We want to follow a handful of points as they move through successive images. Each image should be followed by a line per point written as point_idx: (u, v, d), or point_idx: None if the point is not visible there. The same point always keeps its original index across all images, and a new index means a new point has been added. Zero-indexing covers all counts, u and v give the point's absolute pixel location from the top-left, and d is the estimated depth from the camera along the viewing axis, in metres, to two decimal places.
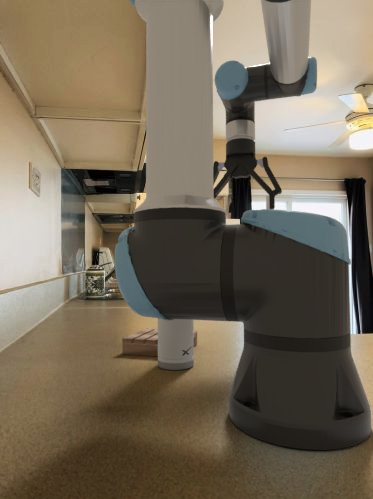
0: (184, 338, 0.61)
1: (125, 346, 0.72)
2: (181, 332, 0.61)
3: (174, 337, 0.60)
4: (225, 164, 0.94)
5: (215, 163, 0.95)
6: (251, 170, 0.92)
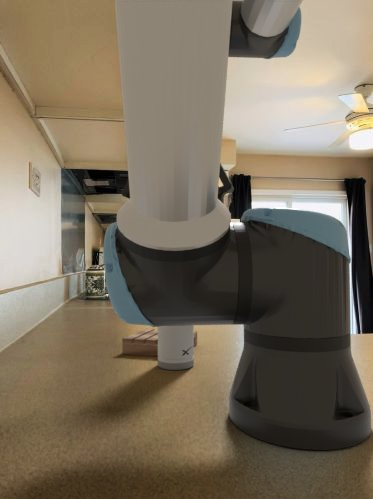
0: (184, 338, 0.61)
1: (125, 346, 0.72)
2: (181, 332, 0.61)
3: (174, 337, 0.60)
4: None
5: None
6: None
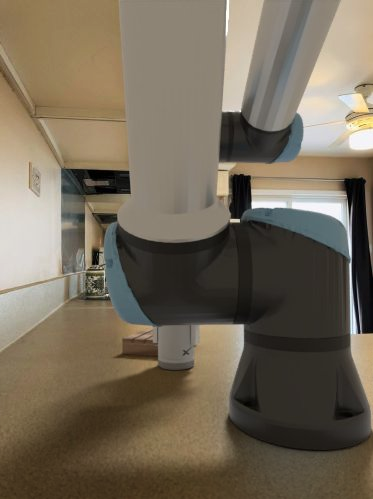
0: (184, 338, 0.61)
1: (125, 346, 0.72)
2: (182, 332, 0.61)
3: (175, 337, 0.60)
4: None
5: None
6: None
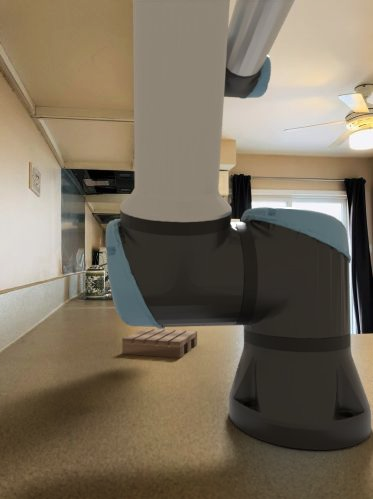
0: None
1: (125, 346, 0.72)
2: None
3: None
4: None
5: (134, 175, 0.76)
6: None
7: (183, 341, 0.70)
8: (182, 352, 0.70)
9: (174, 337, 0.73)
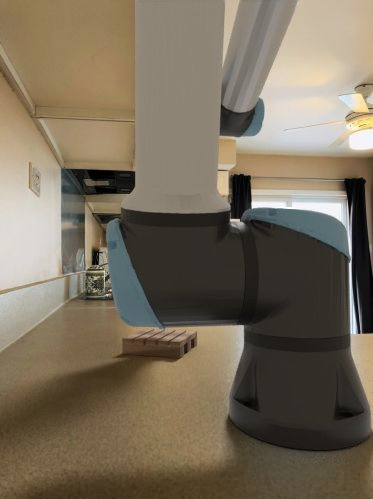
0: None
1: (125, 346, 0.72)
2: None
3: None
4: None
5: None
6: None
7: (183, 341, 0.70)
8: (182, 352, 0.70)
9: (174, 337, 0.73)
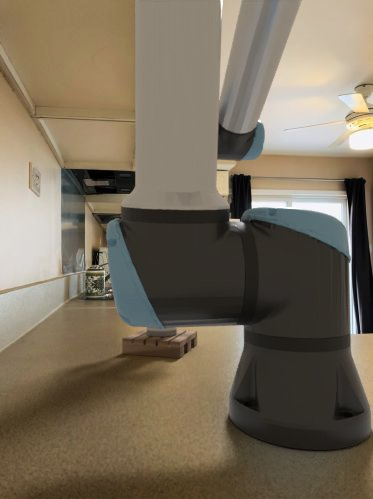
0: None
1: (125, 346, 0.72)
2: None
3: None
4: None
5: None
6: None
7: (183, 341, 0.70)
8: (182, 352, 0.70)
9: (174, 337, 0.73)
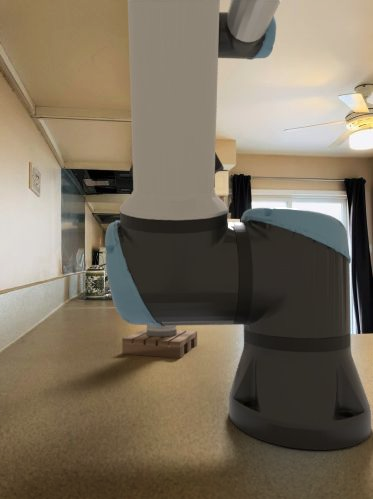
0: None
1: (125, 346, 0.72)
2: None
3: None
4: None
5: None
6: None
7: (183, 341, 0.70)
8: (182, 352, 0.70)
9: (174, 337, 0.73)
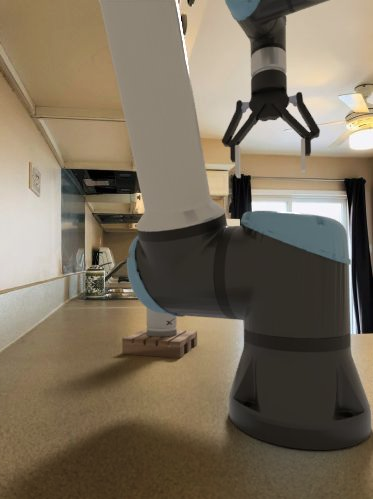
0: None
1: (125, 346, 0.72)
2: None
3: None
4: (250, 103, 0.79)
5: (238, 103, 0.79)
6: (282, 108, 0.76)
7: (183, 341, 0.70)
8: (182, 352, 0.70)
9: (174, 337, 0.73)
